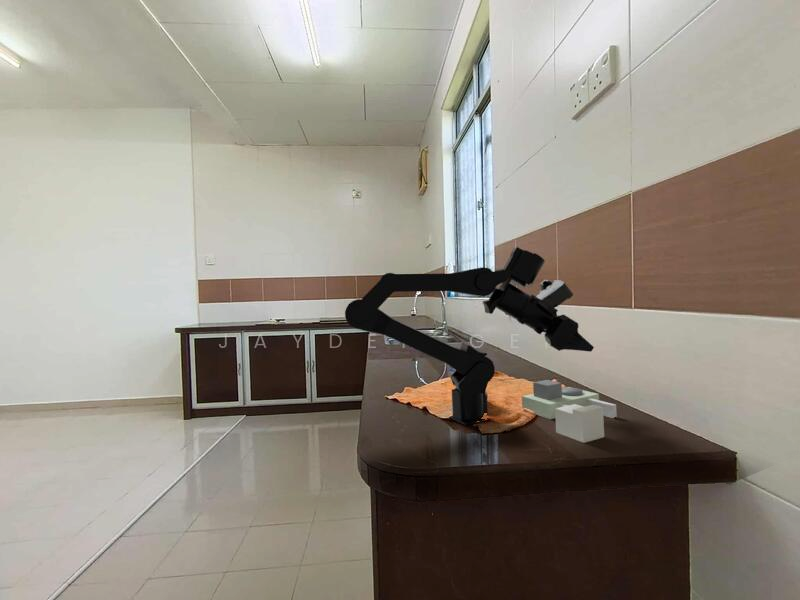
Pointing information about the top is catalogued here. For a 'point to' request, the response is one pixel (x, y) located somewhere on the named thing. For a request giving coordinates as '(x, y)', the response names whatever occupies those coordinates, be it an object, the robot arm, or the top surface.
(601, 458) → the top surface
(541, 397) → the green block with prongs
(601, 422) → the white lidded box
